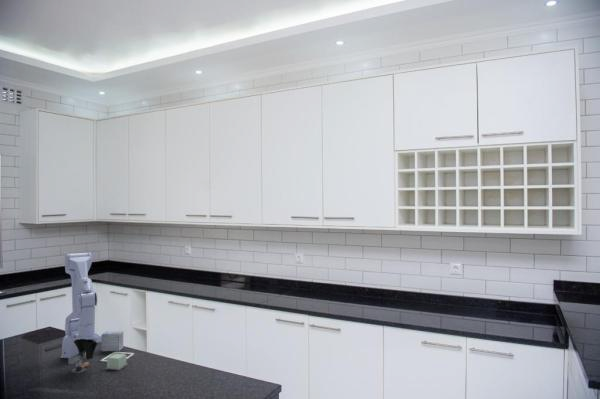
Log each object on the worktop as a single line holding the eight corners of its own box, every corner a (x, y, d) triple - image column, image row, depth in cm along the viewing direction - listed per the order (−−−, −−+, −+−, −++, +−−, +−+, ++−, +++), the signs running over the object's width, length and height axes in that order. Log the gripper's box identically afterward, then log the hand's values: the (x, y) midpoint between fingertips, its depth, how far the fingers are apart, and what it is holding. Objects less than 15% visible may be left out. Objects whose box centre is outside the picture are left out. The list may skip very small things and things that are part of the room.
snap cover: (107, 368, 151) (107, 358, 151) (115, 363, 156) (115, 353, 156) (118, 369, 151) (118, 359, 151) (126, 364, 156) (126, 354, 156)
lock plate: (57, 376, 147) (58, 372, 147) (81, 363, 159) (81, 359, 159) (110, 380, 144) (110, 377, 144) (130, 366, 156) (130, 363, 156)
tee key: (72, 374, 145) (72, 359, 145) (67, 374, 145) (67, 358, 145) (89, 364, 154) (89, 350, 154) (85, 364, 154) (85, 349, 154)
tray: (100, 364, 158) (100, 360, 158) (114, 355, 168) (114, 351, 168) (121, 365, 157) (121, 362, 157) (134, 356, 166) (134, 353, 166)
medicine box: (123, 350, 174) (123, 330, 174) (119, 353, 169) (119, 334, 169) (105, 350, 173) (106, 330, 174) (101, 354, 169) (101, 334, 169)
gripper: (64, 323, 152) (64, 358, 152) (90, 328, 146) (90, 364, 146) (81, 318, 158) (80, 352, 158) (106, 323, 153) (106, 357, 152)
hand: (86, 357), depth 153 cm, fingers open, 3 cm apart
